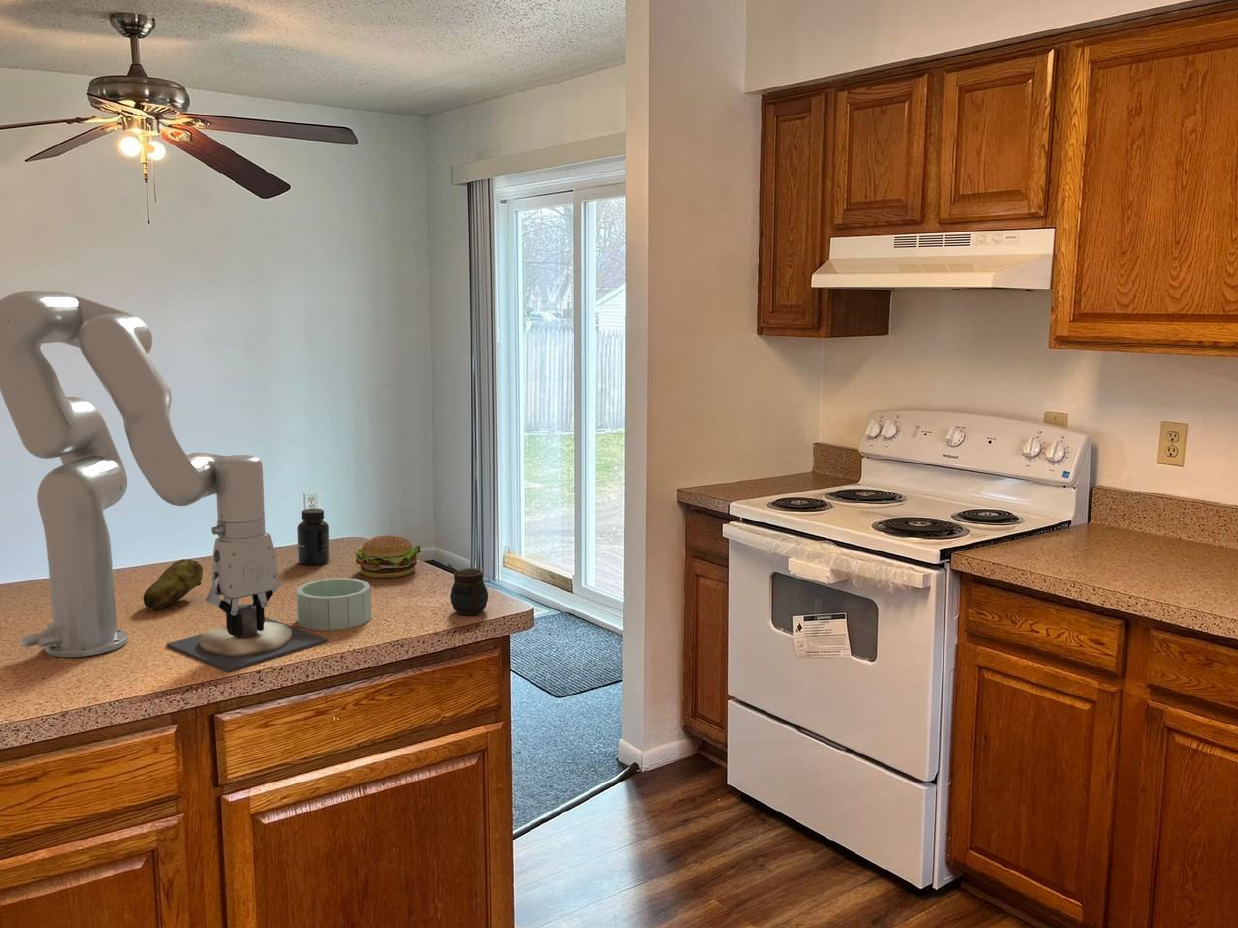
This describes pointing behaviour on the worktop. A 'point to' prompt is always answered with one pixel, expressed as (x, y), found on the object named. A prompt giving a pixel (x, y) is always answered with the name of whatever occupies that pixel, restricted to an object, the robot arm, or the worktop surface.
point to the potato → (173, 584)
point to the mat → (232, 663)
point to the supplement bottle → (313, 538)
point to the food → (387, 557)
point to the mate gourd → (468, 591)
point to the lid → (246, 636)
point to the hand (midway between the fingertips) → (246, 631)
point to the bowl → (333, 604)
